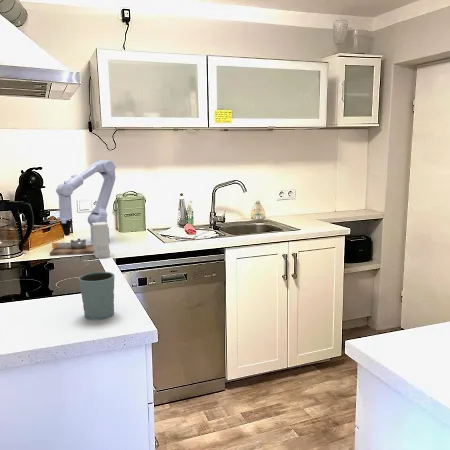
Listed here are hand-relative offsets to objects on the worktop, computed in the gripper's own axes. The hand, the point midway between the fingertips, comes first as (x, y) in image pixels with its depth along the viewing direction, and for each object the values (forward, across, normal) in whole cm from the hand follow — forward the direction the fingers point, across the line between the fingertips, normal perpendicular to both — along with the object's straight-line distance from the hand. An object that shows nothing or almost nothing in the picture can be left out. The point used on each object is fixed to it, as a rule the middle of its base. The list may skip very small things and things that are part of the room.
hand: (67, 235), depth 227 cm
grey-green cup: (+7, +98, +23) cm, 101 cm away
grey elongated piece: (+5, +6, +2) cm, 8 cm away
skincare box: (+7, +20, +18) cm, 28 cm away
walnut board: (+7, +7, +4) cm, 10 cm away
